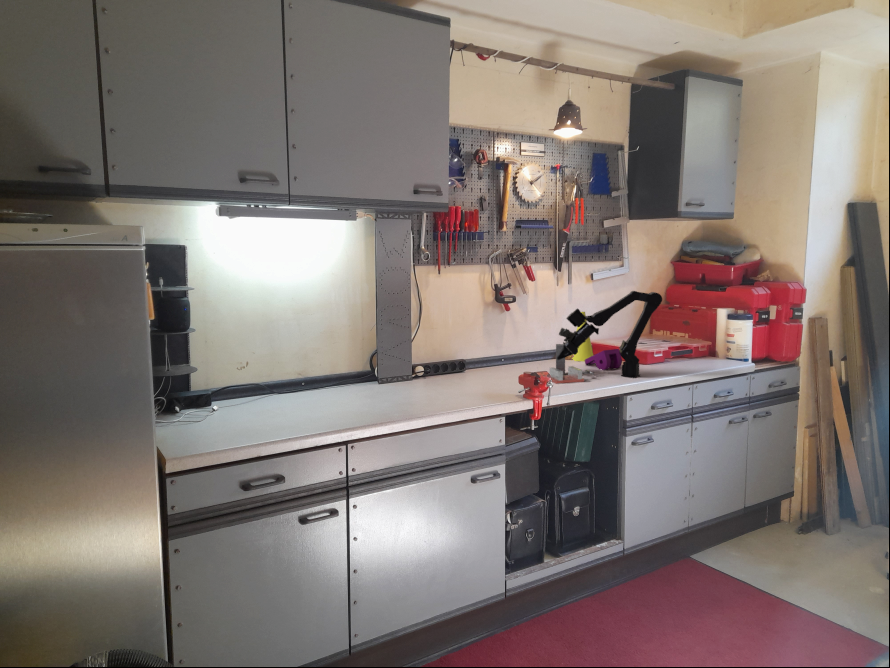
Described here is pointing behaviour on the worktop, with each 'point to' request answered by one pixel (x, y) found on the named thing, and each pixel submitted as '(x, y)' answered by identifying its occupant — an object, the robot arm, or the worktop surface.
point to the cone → (584, 348)
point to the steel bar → (560, 363)
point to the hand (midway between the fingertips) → (557, 358)
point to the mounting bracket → (605, 359)
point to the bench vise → (572, 376)
